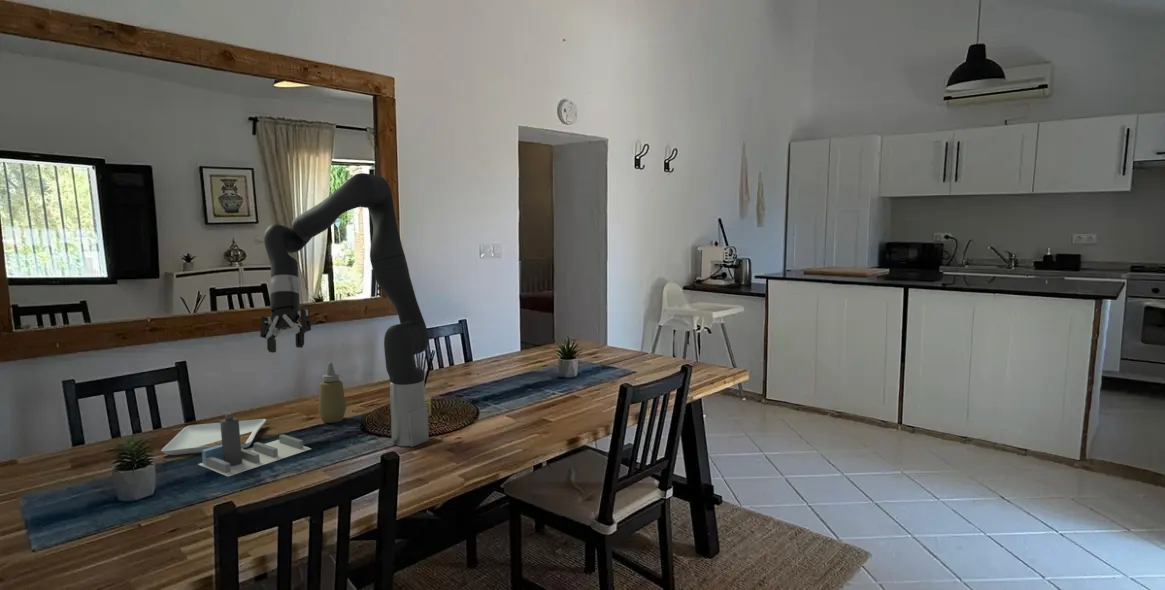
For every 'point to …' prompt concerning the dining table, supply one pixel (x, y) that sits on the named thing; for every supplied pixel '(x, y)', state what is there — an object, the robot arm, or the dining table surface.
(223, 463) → the divider rack
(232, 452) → the dark grey bottle
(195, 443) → the salad plate
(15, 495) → the dining table surface
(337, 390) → the squeeze bottle
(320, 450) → the dining table surface
